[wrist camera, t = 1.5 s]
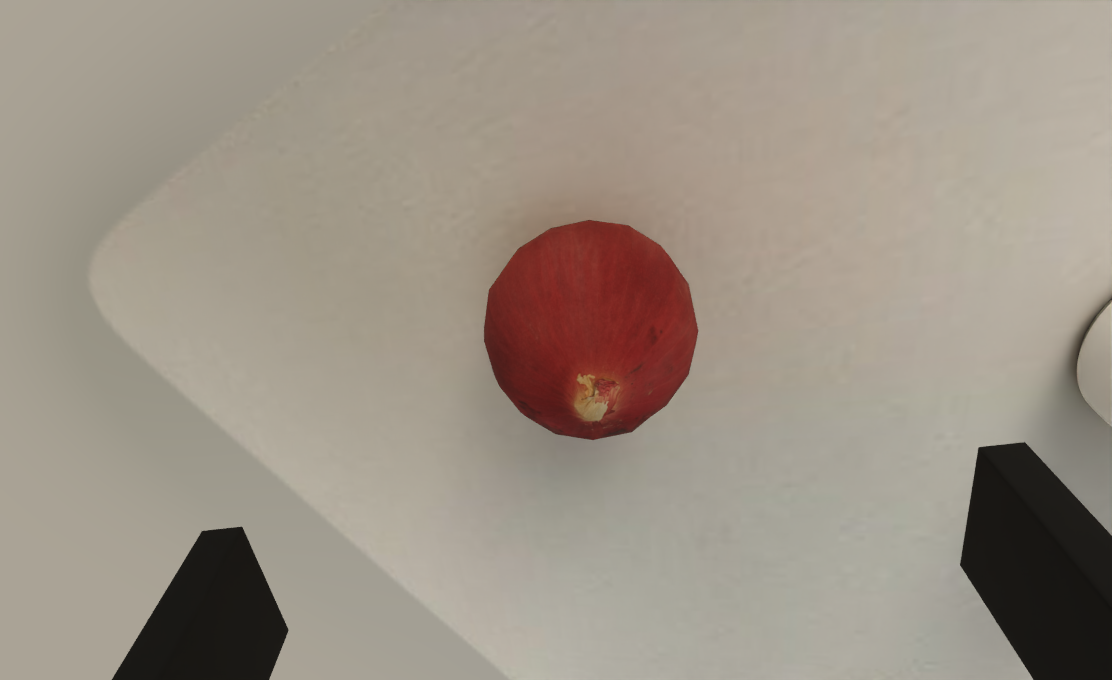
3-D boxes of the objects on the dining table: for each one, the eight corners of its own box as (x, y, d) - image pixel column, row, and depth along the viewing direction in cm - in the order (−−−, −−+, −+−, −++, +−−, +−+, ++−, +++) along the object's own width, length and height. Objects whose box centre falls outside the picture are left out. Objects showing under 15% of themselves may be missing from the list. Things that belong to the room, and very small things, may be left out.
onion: (688, 334, 25) (740, 494, 18) (521, 368, 25) (506, 535, 18) (660, 167, 22) (707, 277, 15) (473, 209, 23) (434, 334, 16)
